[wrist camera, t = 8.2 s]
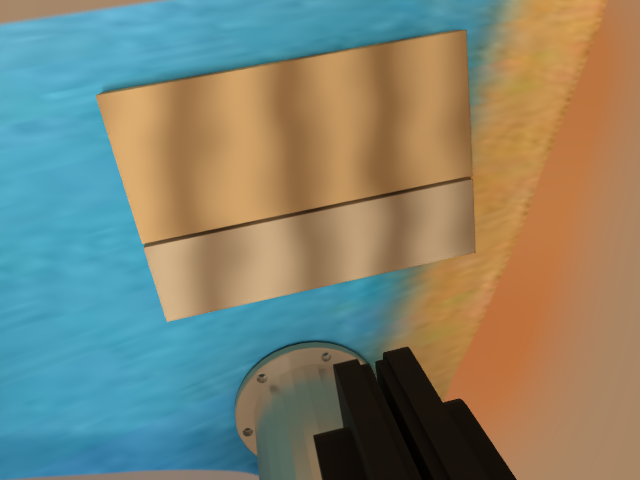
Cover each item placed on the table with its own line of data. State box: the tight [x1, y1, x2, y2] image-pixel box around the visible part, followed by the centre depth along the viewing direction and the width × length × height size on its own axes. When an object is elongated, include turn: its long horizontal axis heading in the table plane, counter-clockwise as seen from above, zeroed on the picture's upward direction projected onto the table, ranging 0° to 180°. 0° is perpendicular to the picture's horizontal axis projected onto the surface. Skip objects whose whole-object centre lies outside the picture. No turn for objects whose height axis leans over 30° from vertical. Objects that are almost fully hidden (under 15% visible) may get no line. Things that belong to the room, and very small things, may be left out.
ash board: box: [144, 176, 476, 322], centre depth 39 cm, size 24×6×2 cm, turn 99°
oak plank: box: [96, 30, 473, 244], centre depth 36 cm, size 24×10×2 cm, turn 99°
